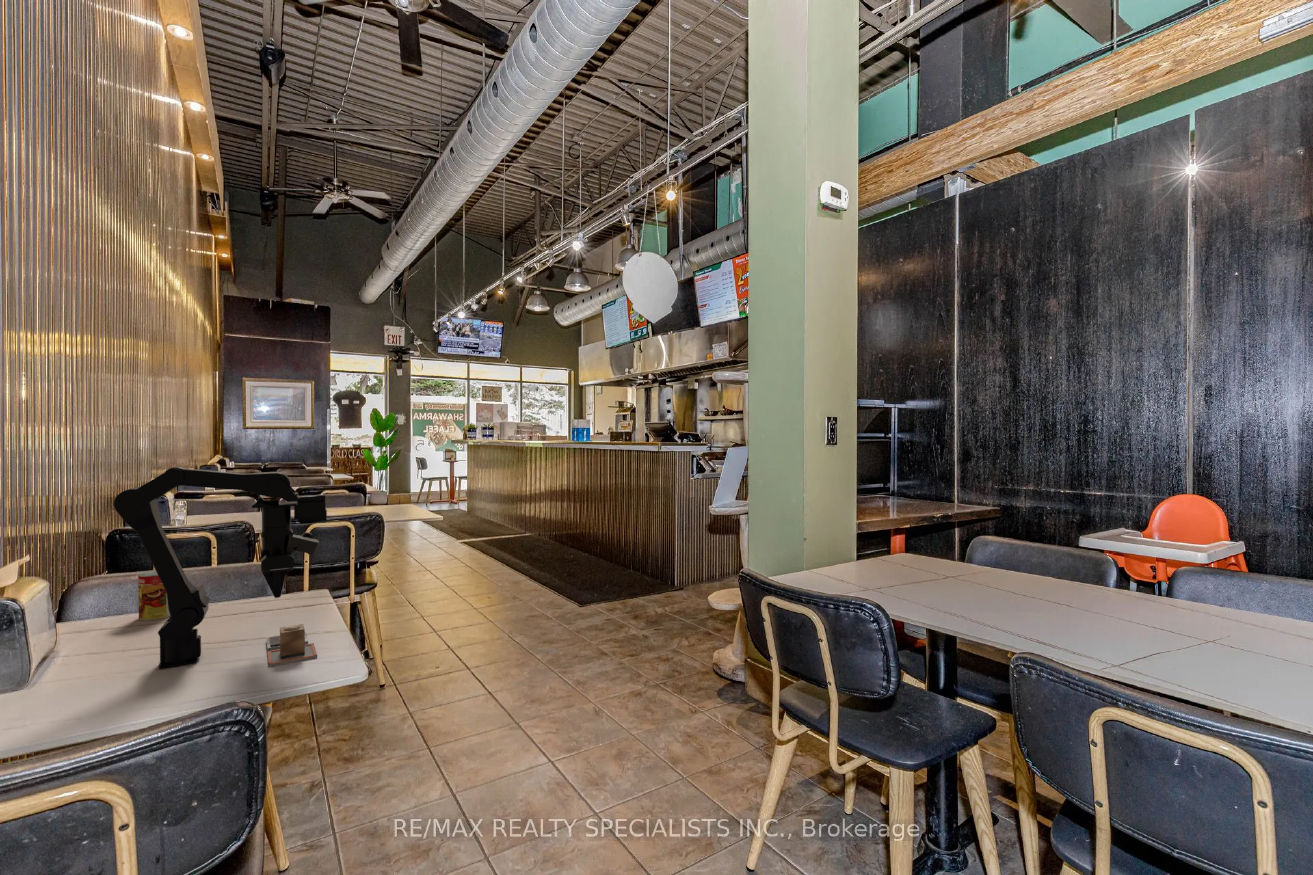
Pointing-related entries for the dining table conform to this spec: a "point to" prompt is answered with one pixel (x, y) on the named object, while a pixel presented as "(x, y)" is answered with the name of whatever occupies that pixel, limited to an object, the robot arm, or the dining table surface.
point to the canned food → (152, 597)
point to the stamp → (292, 641)
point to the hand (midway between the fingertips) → (277, 593)
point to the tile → (276, 659)
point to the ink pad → (277, 642)
